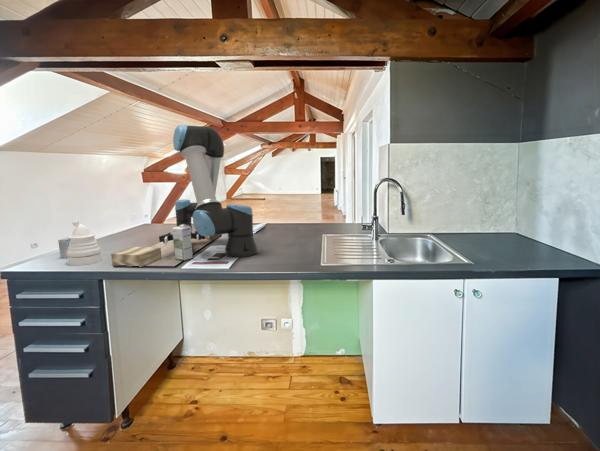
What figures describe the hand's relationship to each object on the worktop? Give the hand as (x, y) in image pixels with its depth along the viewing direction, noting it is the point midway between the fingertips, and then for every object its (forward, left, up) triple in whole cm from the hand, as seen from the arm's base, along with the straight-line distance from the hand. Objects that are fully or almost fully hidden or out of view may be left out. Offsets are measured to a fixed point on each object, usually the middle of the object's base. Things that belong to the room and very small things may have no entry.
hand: (181, 240), depth 158 cm
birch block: (+18, +8, -8) cm, 21 cm away
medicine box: (+57, +5, -9) cm, 57 cm away
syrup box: (+1, -1, -9) cm, 9 cm away
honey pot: (+42, +12, -9) cm, 44 cm away
